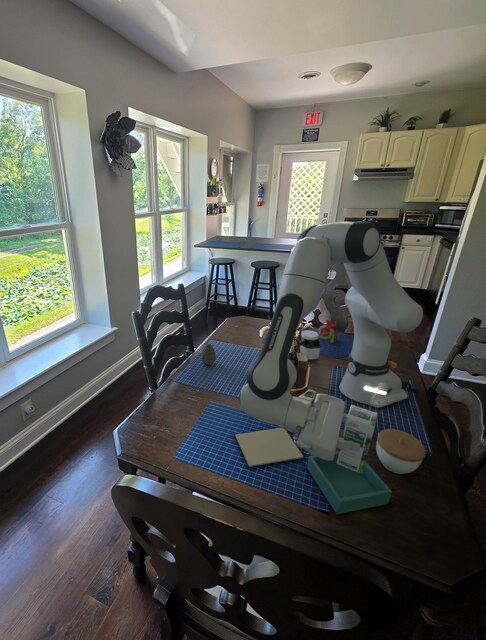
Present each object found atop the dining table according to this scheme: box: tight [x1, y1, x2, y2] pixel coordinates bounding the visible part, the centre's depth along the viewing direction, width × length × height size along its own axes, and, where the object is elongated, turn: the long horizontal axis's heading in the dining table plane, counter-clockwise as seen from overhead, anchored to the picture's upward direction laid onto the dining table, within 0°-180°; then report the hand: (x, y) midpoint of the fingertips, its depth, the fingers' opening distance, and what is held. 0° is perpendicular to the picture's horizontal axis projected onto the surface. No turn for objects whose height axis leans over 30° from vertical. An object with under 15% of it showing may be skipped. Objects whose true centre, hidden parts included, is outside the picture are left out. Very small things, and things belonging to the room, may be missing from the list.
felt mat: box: [235, 427, 304, 468], centre depth 94 cm, size 16×12×1 cm
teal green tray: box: [306, 450, 393, 515], centre depth 81 cm, size 14×14×4 cm
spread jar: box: [300, 329, 321, 362], centre depth 139 cm, size 12×11×12 cm
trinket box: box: [375, 428, 427, 475], centre depth 86 cm, size 11×11×9 cm
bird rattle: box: [318, 319, 340, 344], centre depth 154 cm, size 6×11×9 cm
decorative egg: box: [200, 343, 216, 367], centre depth 135 cm, size 6×6×10 cm
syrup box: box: [337, 404, 378, 474], centre depth 76 cm, size 6×6×14 cm
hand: (361, 436), depth 75 cm, fingers closed on syrup box, 6 cm apart
